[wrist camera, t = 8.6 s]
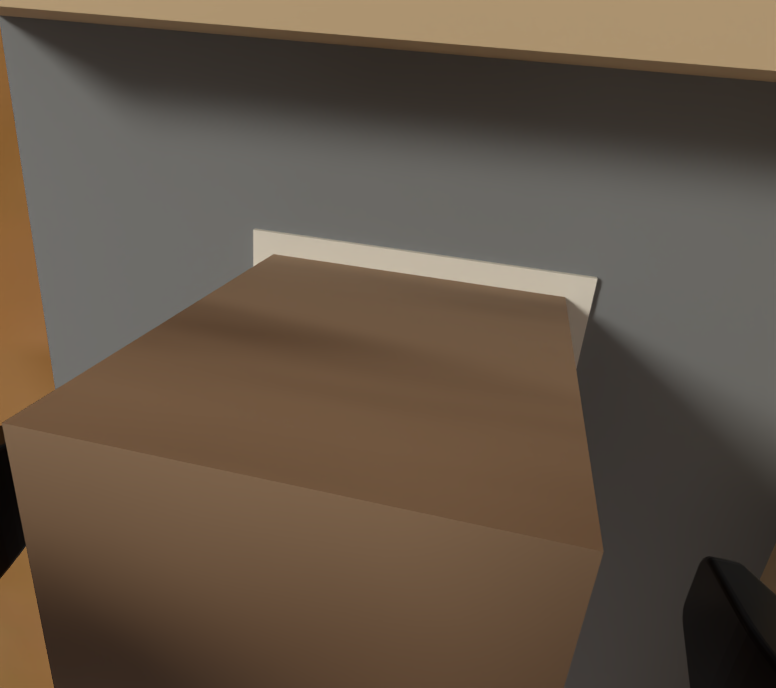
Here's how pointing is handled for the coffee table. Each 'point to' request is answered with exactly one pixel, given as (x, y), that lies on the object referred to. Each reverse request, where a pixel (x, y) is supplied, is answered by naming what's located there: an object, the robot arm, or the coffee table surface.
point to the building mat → (452, 219)
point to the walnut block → (317, 491)
